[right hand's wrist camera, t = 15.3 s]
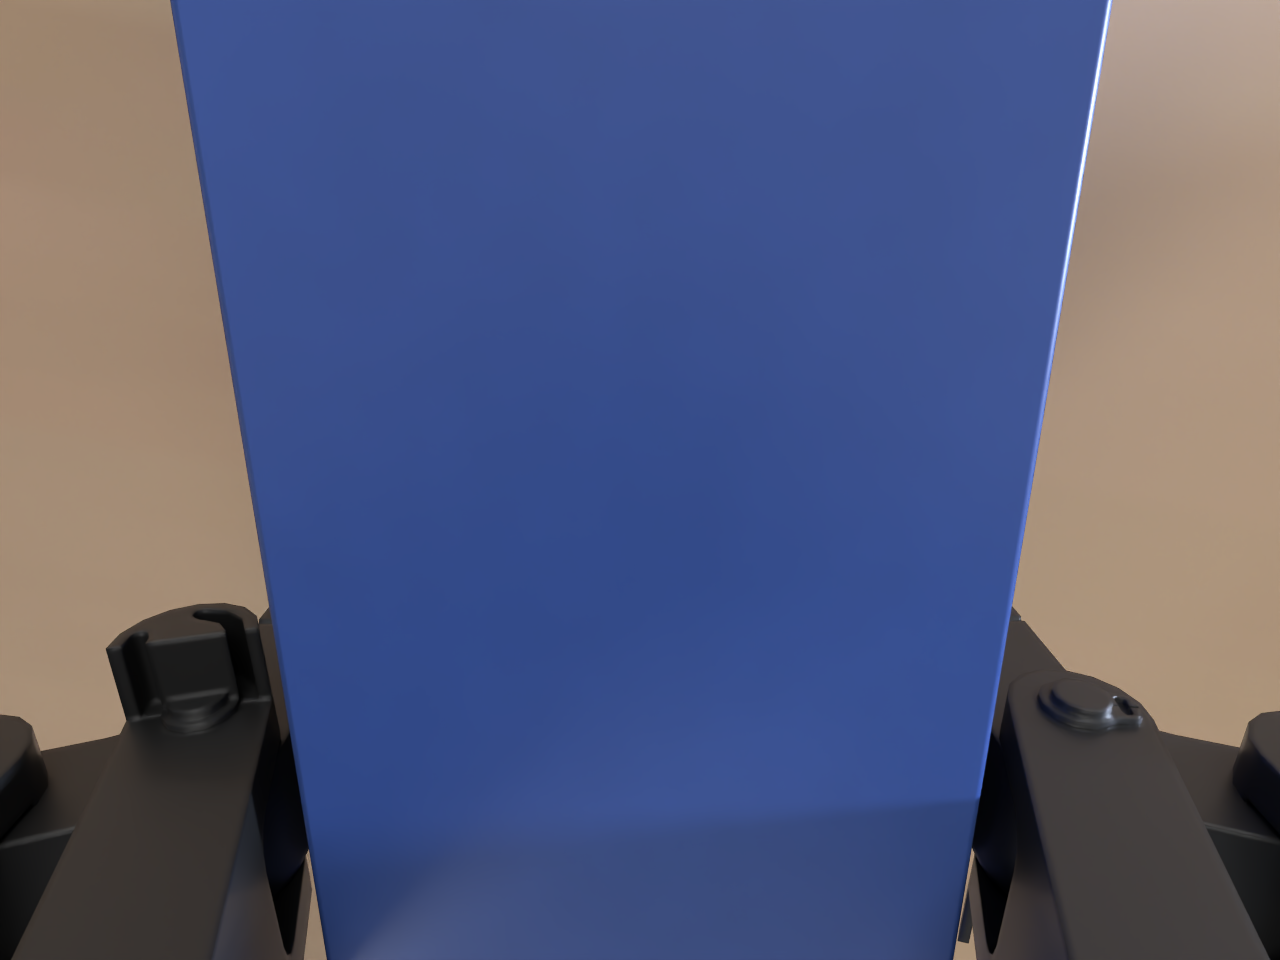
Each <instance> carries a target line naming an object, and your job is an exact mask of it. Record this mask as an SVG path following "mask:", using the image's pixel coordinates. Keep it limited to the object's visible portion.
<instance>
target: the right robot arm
mask: <svg viewBox="0 0 1280 960" xmlns="http://www.w3.org/2000/svg"><path fill="white" fill-rule="evenodd" d="M106 652H107V655H108V658H109V662H110V665H111V669H112V672H113V676H114V679H115V683H116V686H117V689H118V693H119V696H120V700H121V703H122V707H123V710H124V714H125V717H126V720H127V721H126V723H125V725H124V727H123V729H122V731H121V733H120V735H116V736H113V737H109V738H105V739H100V740H95V741H90V742H85V743H80V744H75V745H70V746H65V747H60V748H54V749H49V750H44V751H40V748H39V745H38V743H37V740H36V737H35V734H34V731H33V728H32V726H31V725H30V724H28V723H27V722H26V721H24V720H23V719H21V718H20V717H15V716H7V715H0V960H304V952H305V944H306V935H307V927H308V918H309V910H310V901H311V893H312V888H311V881H310V874H309V869H308V864H307V859H306V854H307V852H308V850H309V846H308V840H307V834H306V828H305V821H304V815H303V809H302V803H301V797H300V791H299V785H298V779H297V773H296V766H295V760H294V754H293V748H292V742H291V736H290V730H289V724H288V717H287V711H286V705H285V699H284V693H283V687H282V681H281V675H280V668H279V662H278V656H277V650H276V644H275V638H274V632H273V626H272V620H271V613H270V607H269V608H268V609H267V611H266V612H265V613H264V614H263V615H262V617H261V618H260V619H259V624H258V620H257V616H256V615H255V614H253V613H252V612H251V611H249V610H248V609H247V608H245V607H241V606H236V605H231V604H226V603H217V604H197V605H193V606H188V607H183V608H178V609H173V610H169V611H167V612H164V613H161V614H159V615H156V616H153V617H151V618H148V619H145V620H143V621H141V622H139V623H138V624H136V625H134V626H132V627H131V628H129V629H127V630H126V631H124V632H122V633H121V634H119V635H118V637H117V638H116V639H115V640H114V641H113V642H112V643H111V644H110V645H109V646H108V647H107V648H106ZM972 849H973V851H974V853H975V854H974V859H973V864H972V869H971V874H970V879H969V884H968V889H967V894H966V898H965V903H964V908H963V913H962V918H961V923H960V929H959V936H958V941H960V942H965V943H969V939H970V935H971V930H972V926H973V933H974V942H975V950H976V958H977V960H1280V711H1276V712H1267V713H1261V714H1259V715H1258V716H1257V717H1255V718H1254V719H1252V720H1251V721H1250V722H1249V723H1248V726H1247V729H1246V731H1245V734H1244V737H1243V740H1242V743H1241V746H1240V748H1239V747H1234V746H1229V745H1224V744H1218V743H1213V742H1208V741H1203V740H1198V739H1193V738H1188V737H1183V736H1178V735H1173V734H1170V733H1166V732H1162V731H1159V730H1158V728H1157V726H1156V724H1155V722H1154V720H1153V718H1152V717H1151V716H1150V715H1149V713H1148V712H1147V711H1146V710H1145V708H1144V707H1143V706H1142V705H1141V703H1139V702H1138V701H1136V700H1135V699H1134V698H1132V697H1131V696H1129V695H1128V694H1126V693H1125V692H1123V691H1122V690H1121V689H1119V688H1117V687H1115V686H1112V685H1110V684H1108V683H1105V682H1103V681H1101V680H1098V679H1096V678H1094V677H1091V676H1086V675H1082V674H1078V673H1074V672H1070V671H1066V670H1065V669H1064V668H1063V667H1062V665H1061V664H1060V663H1059V662H1058V661H1057V659H1056V658H1055V657H1054V656H1053V655H1052V653H1051V652H1050V651H1049V650H1048V649H1047V647H1046V646H1045V645H1044V644H1043V643H1042V641H1041V640H1040V639H1039V638H1038V637H1037V635H1036V634H1035V633H1034V632H1033V631H1032V629H1031V628H1030V627H1029V626H1028V625H1027V623H1026V622H1025V621H1021V616H1020V615H1019V614H1018V613H1017V611H1016V610H1015V609H1014V608H1013V607H1012V608H1011V614H1010V620H1009V626H1008V632H1007V638H1006V644H1005V650H1004V656H1003V662H1002V668H1001V674H1000V680H999V686H998V692H997V698H996V704H995V710H994V716H993V722H992V728H991V734H990V740H989V747H988V753H987V759H986V765H985V771H984V777H983V783H982V789H981V795H980V801H979V807H978V813H977V819H976V825H975V831H974V837H973V843H972Z"/></svg>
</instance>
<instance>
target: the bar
mask: <svg viewBox="0 0 1280 960" xmlns="http://www.w3.org/2000/svg"><path fill="white" fill-rule="evenodd" d="M1112 1H1113V0H170V2H171V8H172V14H173V20H174V26H175V32H176V38H177V44H178V51H179V57H180V63H181V69H182V75H183V81H184V87H185V93H186V99H187V106H188V112H189V118H190V124H191V130H192V136H193V142H194V148H195V155H196V161H197V167H198V173H199V179H200V185H201V191H202V197H203V203H204V210H205V216H206V222H207V228H208V234H209V240H210V246H211V252H212V259H213V265H214V271H215V277H216V283H217V289H218V295H219V301H220V307H221V314H222V320H223V326H224V332H225V338H226V344H227V350H228V356H229V363H230V369H231V375H232V381H233V387H234V393H235V399H236V405H237V412H238V418H239V424H240V430H241V436H242V442H243V448H244V454H245V460H246V467H247V473H248V479H249V485H250V491H251V497H252V503H253V509H254V516H255V522H256V528H257V534H258V540H259V546H260V552H261V558H262V564H263V571H264V577H265V583H266V589H267V595H268V601H269V607H270V613H271V620H272V626H273V632H274V638H275V644H276V650H277V656H278V662H279V668H280V675H281V681H282V687H283V693H284V699H285V705H286V711H287V717H288V724H289V730H290V736H291V742H292V748H293V754H294V760H295V766H296V773H297V779H298V785H299V791H300V797H301V803H302V809H303V815H304V821H305V828H306V834H307V840H308V846H309V852H310V858H311V864H312V870H313V877H314V883H315V889H316V895H317V901H318V907H319V913H320V919H321V925H322V932H323V938H324V944H325V950H326V956H327V960H953V957H954V951H955V945H956V939H957V933H958V927H959V921H960V915H961V909H962V903H963V897H964V891H965V885H966V879H967V873H968V867H969V861H970V855H971V849H972V843H973V837H974V831H975V825H976V819H977V813H978V807H979V801H980V795H981V789H982V783H983V777H984V771H985V765H986V759H987V753H988V747H989V740H990V734H991V728H992V722H993V716H994V710H995V704H996V698H997V692H998V686H999V680H1000V674H1001V668H1002V662H1003V656H1004V650H1005V644H1006V638H1007V632H1008V626H1009V620H1010V614H1011V608H1012V602H1013V596H1014V590H1015V584H1016V578H1017V572H1018V566H1019V560H1020V554H1021V548H1022V542H1023V536H1024V530H1025V524H1026V518H1027V512H1028V506H1029V500H1030V494H1031V488H1032V482H1033V476H1034V470H1035V464H1036V458H1037V452H1038V446H1039V440H1040V434H1041V428H1042V422H1043V416H1044V410H1045V404H1046V398H1047V392H1048V386H1049V380H1050V374H1051V368H1052V362H1053V356H1054V349H1055V343H1056V337H1057V331H1058V325H1059V319H1060V313H1061V307H1062V301H1063V295H1064V289H1065V283H1066V277H1067V271H1068V265H1069V259H1070V253H1071V247H1072V241H1073V235H1074V229H1075V223H1076V217H1077V211H1078V205H1079V199H1080V193H1081V187H1082V181H1083V175H1084V169H1085V163H1086V157H1087V151H1088V145H1089V139H1090V133H1091V127H1092V121H1093V115H1094V109H1095V103H1096V97H1097V91H1098V85H1099V79H1100V73H1101V67H1102V61H1103V55H1104V49H1105V43H1106V37H1107V31H1108V25H1109V19H1110V13H1111V7H1112Z"/></svg>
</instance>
